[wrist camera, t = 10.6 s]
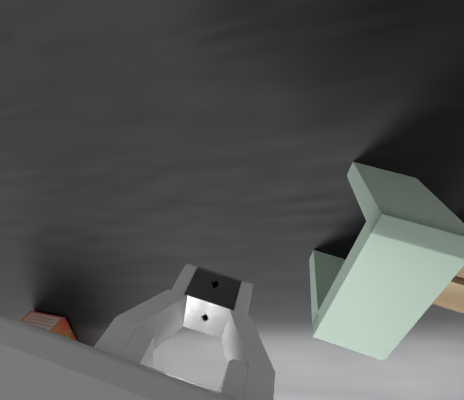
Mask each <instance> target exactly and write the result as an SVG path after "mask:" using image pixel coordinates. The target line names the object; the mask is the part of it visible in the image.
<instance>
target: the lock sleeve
mask: <svg viewBox="0 0 464 400" xmlns="http://www.w3.org/2000/svg"><path fill="white" fill-rule="evenodd" d="M347 177H348V180H349V182H350V184H351V187H352V189H353V191H354V194H355V196H356V198H357V201H358V203H359V205H360V208H361V210H362V212H363V215H364V217H365V219H366V223H365V225H364V226H363V228H362V230H361V232H360V234H359V236H358V238H357V240H356V241H355V243H354V245H353V247H352V249H351V251H350V253H349V254H348V256H347V258H346V259H342V258H339V257H336V256H332V255H329V254H326V253H322V252H319V251H316V250H313V252H312V254H311V257H310V259H309V263H310V285H311V307H312V329H313V337H315V338H318V339H321V340H324V341H327V342H330V343H333V344H336V345H339V346H341V347H344V348H347V349H350V350H353V351H356V352H359V353H362V354H365V355H368V356H371V357H374V358H377V359H380V360H383V361H384V360H385V359H386V358H387V357H388V355H389V354H390V353H391V352H392V351H393V349H394V348H395V347H396V346H397V345H398V343H399V342H400V341H401V340H402V339H403V337H404V336H405V335H406V334H407V333H408V331H409V330H410V329H411V328H412V327H413V326H414V324H415V323H416V322H417V321H418V320H419V318H420V317H421V316H422V315H423V314H424V312H425V311H426V310H427V309H428V308H429V306H430V305H431V304H432V303H433V302H434V300H435V299H436V298H437V297H438V296H439V294H440V293H441V292H442V291H443V290H444V289H445V287H446V286H447V285H448V284H449V283H450V281H451V280H452V279H453V278H454V277H455V275H456V274H457V273H458V272H459V271H460V269H461V268H462V267H463V266H464V223H463V222H462V221H461V220H460V219H459V218H458V217H457V216H456V215H455V214H454V213H453V212H452V211H450V210H449V209H448V208H447V207H446V206H445V205H444V204H443V203H442V202H441V201H440V200H439V199H438V198H437V197H436V196H435V195H434V194H433V193H432V192H431V191H430V190H428V189H427V188H426V187H425V186H424V185H423V184H422V183H421V182H420V181H419V180H418V179H417V178H414V177H410V176H406V175H403V174H399V173H395V172H391V171H387V170H383V169H379V168H375V167H372V166H368V165H364V164H360V163H356V162H353V163H352V165H351V167H350V169H349V172H348V174H347Z"/></svg>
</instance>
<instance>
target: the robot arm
mask: <svg viewBox="0 0 464 400" xmlns="http://www.w3.org/2000/svg"><path fill="white" fill-rule="evenodd" d="M252 290H253V284H252V283H249V282H245V281H241V280H239V279H235V278H232V277H229V276H226V275H222V274H218V273H215V272H213V271H210V270H207V269H204V268H201V267H197V266H194V265H191V264H188V263H187V264H186V265H185V266H184V268H183V270H182V272H181V273H180V275H179V277H178V279H177V280H176V282H175V284H174V286H173V287H172V289H171V290H166V291H164V292H162V293H160V294H158V295H156V296H154V297H152V298H150V299H149V300H147V301H145V302H143V303H141V304H139V305H137V306H135V307H133V308H132V309H130V310H128V311H126V312H124V313H122V314H120V315H118V316H116V317H115V318H114V320H113V321H112V322H111V324H110V325H109V327H108V328H107V329H106V331H105V332H104V333H103V335H102V336H101V338H100V339H99V340H98V342H97V343H96V344H95V346H94V347H92V346H89V345H87V344H84V343H81V342H78V341H76V340H73V339H70V338H67V337H64V336H62V335H59V334H56V333H53V332H51V331H48V330H45V329H42V328H39V327H37V326H34V325H31V324H28V323H26V322H23V321H20V320H17V319H15V318H12V317H9V316H6V315H4V314H1V313H0V400H273V394H274V380H275V371H274V369H273V367H272V364H271V362H270V360H269V357H268V355H267V353H266V351H265V348H264V346H263V344H262V341H261V339H260V337H259V334H258V332H257V330H256V328H255V325H254V323H253V321H252V318H251V317H250V316H247V315H248V310H249V305H250V300H251V295H252ZM182 326H184V327H188V328H191V329H194V330H197V331H201V332H203V333H206V334H209V335H212V336H214V337H217V338H220V339H221V341H222V345H223V349H224V354H225V358H226V362H227V368H226V371H225V374H224V377H223V380H222V383H221V386H220V389H219V392H217V391H214V390H212V389H209V388H206V387H203V386H200V385H198V384H195V383H192V382H189V381H187V380H184V379H181V378H178V377H175V376H173V375H170V374H167V373H164V372H161V371H159V370H156V369H153V368H152V359H153V350H154V349H155V348H156V347H158V346H159V345H160V344H161V343H163V342H164V341H165V340H167V339H168V338H169V337H170V336H172V335H173V334H174V333H175V332H177V331H178V330H179V329H181V328H182Z"/></svg>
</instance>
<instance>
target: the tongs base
mask: <svg viewBox="0 0 464 400" xmlns="http://www.w3.org/2000/svg"><path fill="white" fill-rule="evenodd" d="M432 304H435V305H439V306H442V307H445V308H448V309H452V310H455V311H458V312H461V313H464V278H461V277H458V276H455V277H454V278H453V279H452V280H451V281H450V283H449V284H448V285H447V286H446V287H445V289H444V290H443V291H442V292H441V293H440V294H439V296H438V297H437V298H436V299H435V300H434V302H433V303H432Z"/></svg>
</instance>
